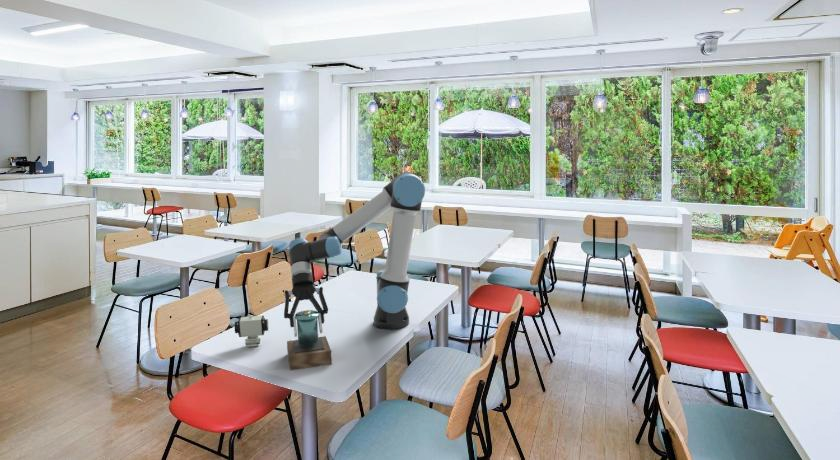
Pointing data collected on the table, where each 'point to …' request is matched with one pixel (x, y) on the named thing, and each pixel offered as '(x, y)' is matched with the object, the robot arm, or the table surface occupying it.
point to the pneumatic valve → (251, 329)
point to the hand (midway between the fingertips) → (308, 333)
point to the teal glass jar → (307, 327)
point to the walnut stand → (309, 354)
